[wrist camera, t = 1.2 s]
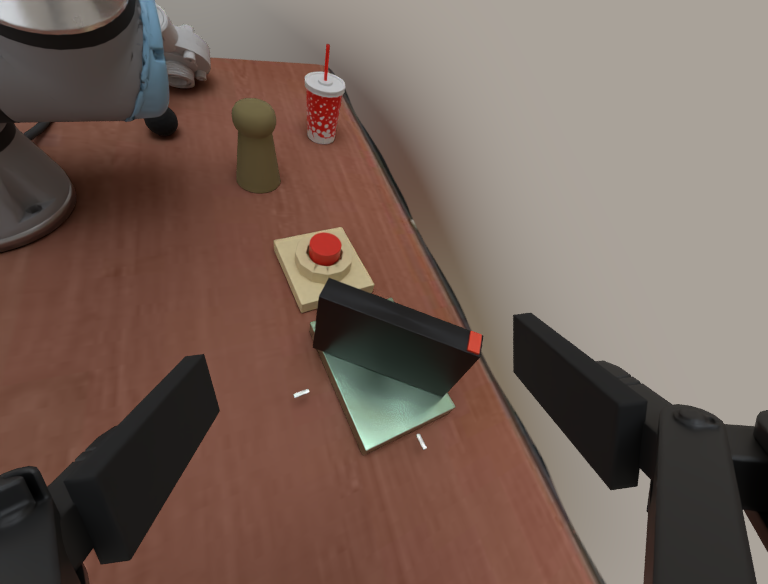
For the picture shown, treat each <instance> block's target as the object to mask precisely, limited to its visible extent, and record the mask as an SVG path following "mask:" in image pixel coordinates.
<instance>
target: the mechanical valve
mask: <svg viewBox="0 0 768 584" xmlns="http://www.w3.org/2000/svg"><path fill="white" fill-rule="evenodd" d="M156 7H157V12H158V16H159V21H160V26H161V32H162V37H163V47H164V56H165V59H166V65H167V72H168V82H169V85H170V86H173V87H177V88H191V87H193V86H194V85H195V83H194V82H195V81H194V77H195V78H196V79H197V80H200V81H205V80H206V74H208V73H209V72H210V69H211V67H210V50H209V46H208V44H207V43H206V42H205V41H204V40H203V39H202V38H201V37H200V36H198V35H197V34H195V33H194V29H193V27H192V26H190V25H186V24H184V25H181V26H180V27H178V26H175V25H173V24H172V22H171V21H170V19H169V17H168V16H167V14H166V12H165V11H164V9H163V8H162V7H160V6H159V5H157V4H156ZM144 120H145V123H146V125H147V127H148V128H149V129H150V130H151V131H152V132H154V133H156V134H158V135H162V136H168V135H171V134H173V133H174V132H175V131H176V129H177V126H178V120H177V117H176V115H175V114H174V112H173V111H172V110H171V109H170V108H167V110H166V112H165V113H164V114H162V115H161V116H159V117H153V118H144Z"/></svg>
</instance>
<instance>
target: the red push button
mask: <svg viewBox="0 0 768 584" xmlns="http://www.w3.org/2000/svg"><path fill="white" fill-rule="evenodd" d="M341 246H342V245H341V241H340V240H339V238H338V237H336V236H335V235H333V234H330V233H318V234H315V235H314V236H313V237H312V238H311V239H310V244H309V256H310V258H311V260H312V261H313V262H314V263H316V264H318V265H321V266H330V265H333V264H335V263H336V262H337V261H338V260H339V258H340V253H341Z"/></svg>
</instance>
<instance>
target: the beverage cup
mask: <svg viewBox="0 0 768 584" xmlns="http://www.w3.org/2000/svg"><path fill="white" fill-rule="evenodd" d="M329 50H330V45H329V44H327V45H326V58H325V71H324V72H312V73H309V74H307V75H306V76H305V87H306V88H307V136H308V137H309V139H310V140H312V141H313V142H315V143H318V144H329V143H331V142H333V141H334V139H335V134H336V128H337V122H338V117H339V111H340V106H341V100H342V95H343V93H344V90H345V83H344V81H343V80H342V79H340V78H339V77H337V76H336V75H333V74H330V73H328V62H329Z"/></svg>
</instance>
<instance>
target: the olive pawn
mask: <svg viewBox="0 0 768 584" xmlns="http://www.w3.org/2000/svg"><path fill="white" fill-rule="evenodd" d="M232 120H233V123H234V126H235V127H236V129H237V130H238V148H237V176H236V177H237V183H238V184H239V186H241V187H242V188H243V189H245V190H247V191H249V192H254V193H267V192H271V191H273V190H275V189H276V188H277V187H278V186H279V185H280V182H281V181H280V175H279V170H278V164H277V158H276V153H275V147H274V141H273V136H272V132H273V131H274V129H275V126H276V116H275V112H274V110H273V109H272V107H271V106H270V105H269V104H268V103H267V102H265V101H262V100H260V99H256V98H245V99H242V100H239V101H237V102H236V103H235V105H234V107H233V108H232Z"/></svg>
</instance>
